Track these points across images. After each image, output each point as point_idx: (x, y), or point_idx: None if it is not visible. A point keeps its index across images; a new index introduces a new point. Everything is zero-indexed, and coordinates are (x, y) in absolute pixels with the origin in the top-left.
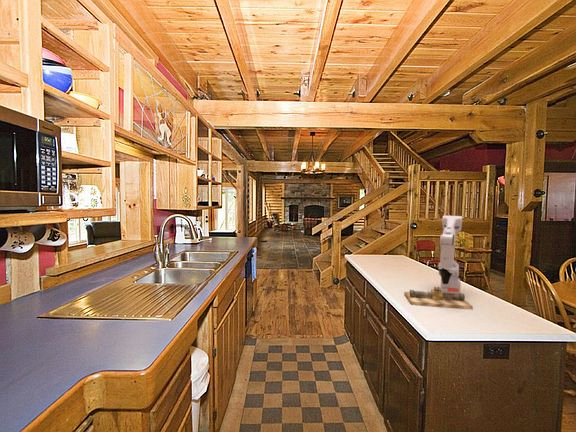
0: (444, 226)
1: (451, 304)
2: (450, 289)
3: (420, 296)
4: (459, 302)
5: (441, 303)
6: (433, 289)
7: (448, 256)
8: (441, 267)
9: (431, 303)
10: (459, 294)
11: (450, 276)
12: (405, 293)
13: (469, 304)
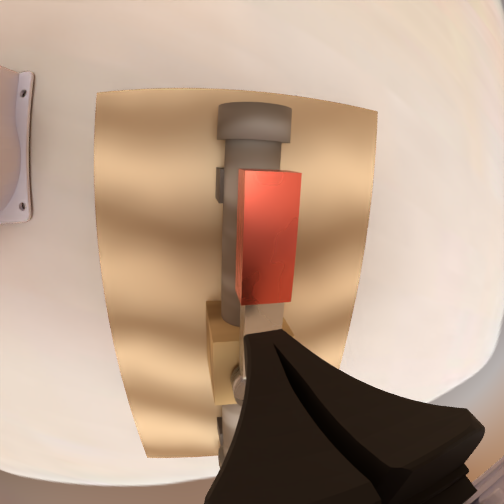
0: None
1: (361, 257)
2: (289, 270)
3: (218, 410)
4: (311, 173)
5: (344, 317)
6: (227, 391)
7: None
8: None
9: (338, 367)
10: (270, 151)
11: (380, 392)
12: (176, 456)
13: (346, 113)
